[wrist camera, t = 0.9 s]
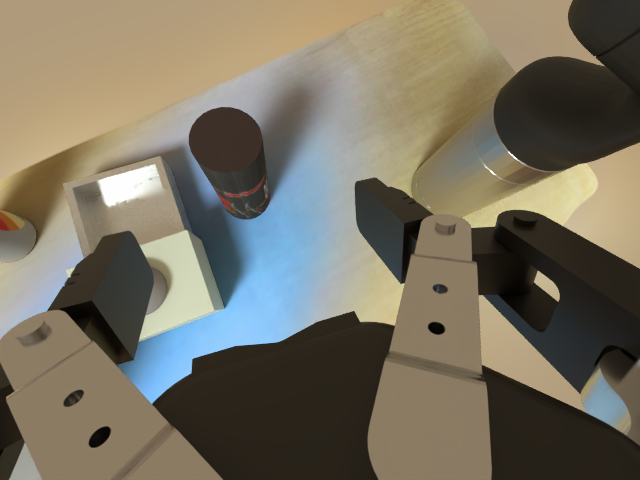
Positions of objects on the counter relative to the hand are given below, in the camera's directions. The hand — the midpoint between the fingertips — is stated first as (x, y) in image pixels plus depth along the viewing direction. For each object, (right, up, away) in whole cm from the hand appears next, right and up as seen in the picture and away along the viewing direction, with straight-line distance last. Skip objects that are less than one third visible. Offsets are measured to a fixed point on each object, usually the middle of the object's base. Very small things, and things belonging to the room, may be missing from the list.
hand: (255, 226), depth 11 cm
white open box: (-20, +2, +27) cm, 33 cm away
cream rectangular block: (-16, -7, +26) cm, 31 cm away
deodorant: (-7, +5, +29) cm, 30 cm away
